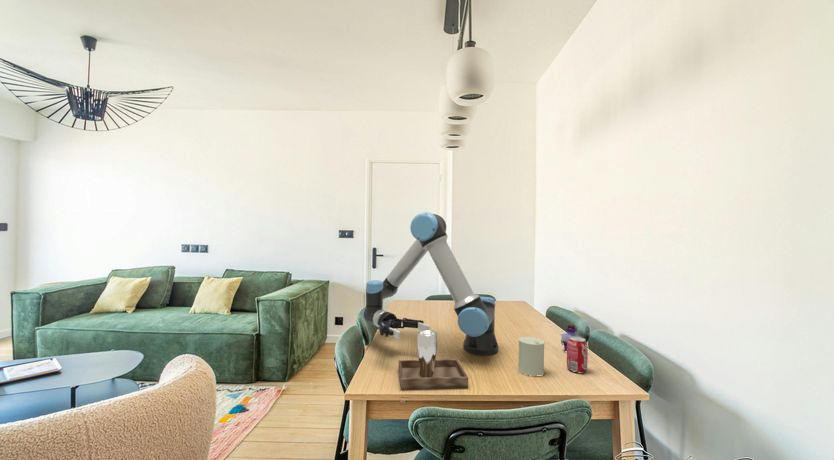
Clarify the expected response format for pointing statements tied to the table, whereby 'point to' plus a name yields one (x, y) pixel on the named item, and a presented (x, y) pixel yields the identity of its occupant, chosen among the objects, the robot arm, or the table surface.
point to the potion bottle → (568, 335)
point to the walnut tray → (446, 377)
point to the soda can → (577, 354)
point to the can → (531, 356)
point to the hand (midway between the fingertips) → (414, 332)
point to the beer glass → (426, 353)
